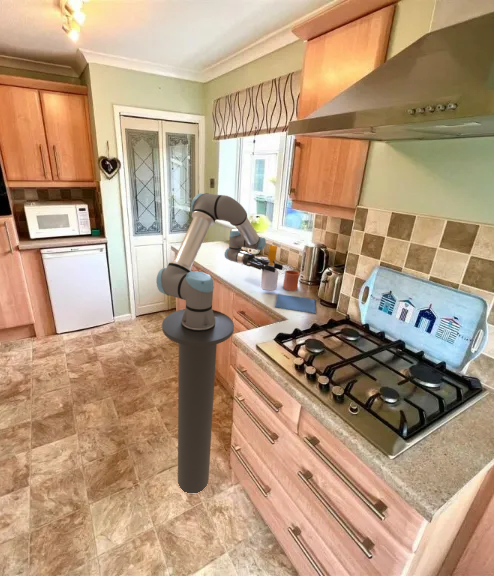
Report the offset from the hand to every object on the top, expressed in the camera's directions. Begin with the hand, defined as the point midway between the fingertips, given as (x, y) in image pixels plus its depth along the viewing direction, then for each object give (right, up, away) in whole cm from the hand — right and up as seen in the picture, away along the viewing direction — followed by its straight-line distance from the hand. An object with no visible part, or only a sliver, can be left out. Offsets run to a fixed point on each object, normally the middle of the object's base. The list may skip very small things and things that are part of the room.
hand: (278, 268), depth 167 cm
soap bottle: (-4, -11, +8) cm, 14 cm away
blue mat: (+8, -19, -5) cm, 21 cm away
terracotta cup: (+10, -11, +15) cm, 21 cm away
